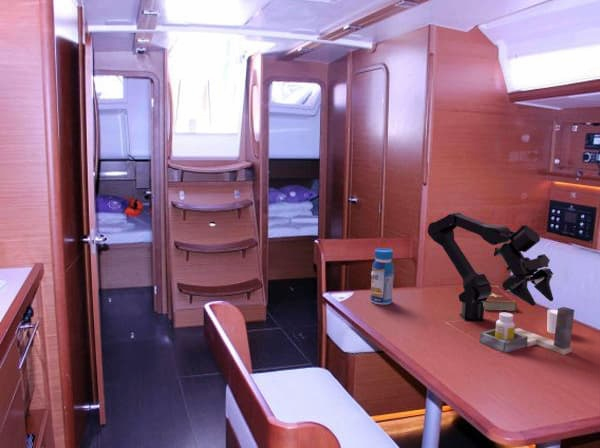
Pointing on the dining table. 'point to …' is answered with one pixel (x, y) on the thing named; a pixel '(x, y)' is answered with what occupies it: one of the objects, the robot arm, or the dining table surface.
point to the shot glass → (551, 320)
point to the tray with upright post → (536, 336)
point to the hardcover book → (499, 300)
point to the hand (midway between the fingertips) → (543, 303)
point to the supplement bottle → (505, 327)
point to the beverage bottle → (382, 277)
